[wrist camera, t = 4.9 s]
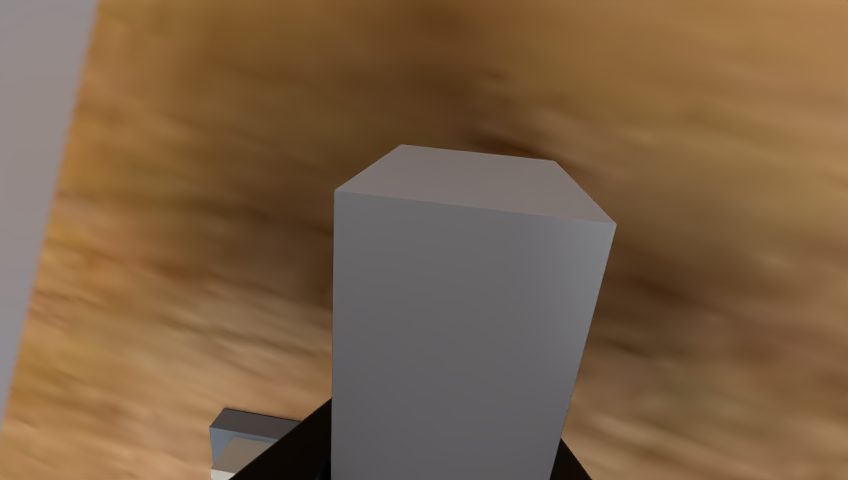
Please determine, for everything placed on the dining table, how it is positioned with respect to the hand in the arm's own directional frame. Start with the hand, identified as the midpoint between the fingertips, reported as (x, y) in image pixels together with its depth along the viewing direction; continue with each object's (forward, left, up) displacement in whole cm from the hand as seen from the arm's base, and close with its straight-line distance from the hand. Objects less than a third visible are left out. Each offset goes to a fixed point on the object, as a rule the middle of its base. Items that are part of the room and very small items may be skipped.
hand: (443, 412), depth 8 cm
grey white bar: (0, 0, -2) cm, 2 cm away
